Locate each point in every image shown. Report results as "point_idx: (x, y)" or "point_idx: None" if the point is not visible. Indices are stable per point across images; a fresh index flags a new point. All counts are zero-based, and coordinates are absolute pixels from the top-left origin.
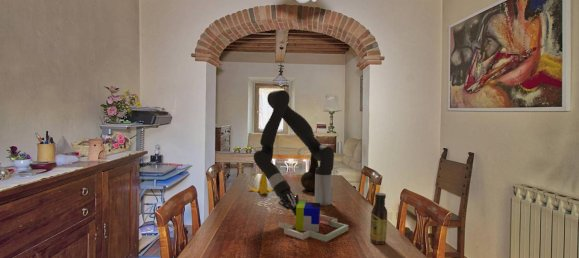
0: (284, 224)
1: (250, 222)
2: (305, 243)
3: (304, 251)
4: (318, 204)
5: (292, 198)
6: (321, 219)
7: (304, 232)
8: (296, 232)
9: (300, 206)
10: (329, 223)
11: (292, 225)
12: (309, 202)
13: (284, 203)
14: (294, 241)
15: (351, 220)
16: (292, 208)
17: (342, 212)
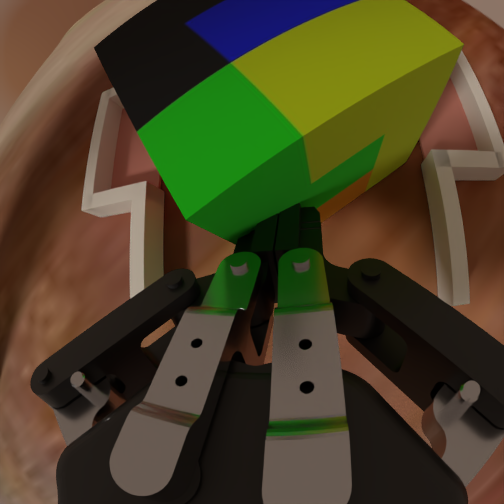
0: (461, 235)
1: (480, 477)
2: (457, 38)
3: (489, 22)
4: (146, 14)
5: (210, 367)
6: (112, 188)
7: None
8: (475, 76)
9: (383, 31)
10: None
11: (437, 161)
12: (126, 97)
13: (474, 340)
14: (492, 79)
15: (60, 111)
16: (327, 271)
17: (4, 213)
